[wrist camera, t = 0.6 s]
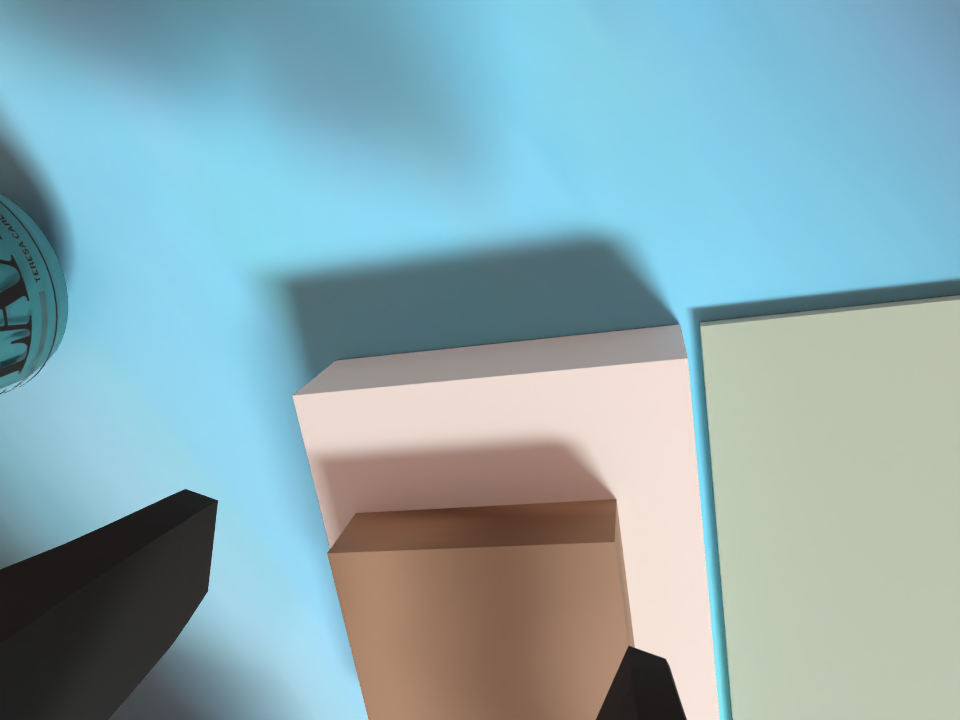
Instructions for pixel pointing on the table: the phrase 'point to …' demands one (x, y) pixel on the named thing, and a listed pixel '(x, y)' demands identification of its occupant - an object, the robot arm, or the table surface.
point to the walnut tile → (485, 610)
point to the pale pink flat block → (535, 458)
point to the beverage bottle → (28, 296)
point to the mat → (839, 509)
